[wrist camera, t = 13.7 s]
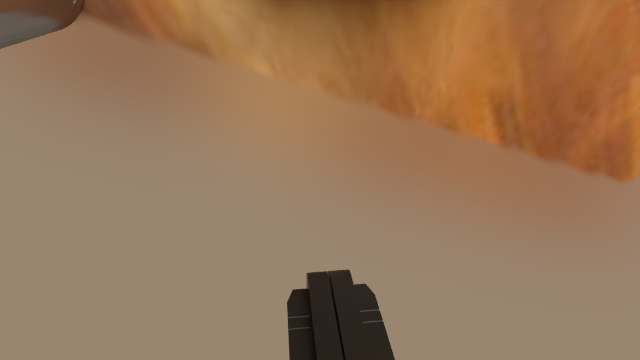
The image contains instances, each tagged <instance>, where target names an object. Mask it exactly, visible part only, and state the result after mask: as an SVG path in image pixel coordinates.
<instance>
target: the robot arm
mask: <svg viewBox="0 0 640 360" xmlns="http://www.w3.org/2000/svg"><path fill="white" fill-rule="evenodd" d="M82 4H83V0H0V49H1V48H4V47H7V46H10V45H13V44H17V43H20V42H23V41H26V40H29V39H32V38H35V37H39V36H42V35H45V34H48V33H52V32H55V31H58V30H61V29H63V28H65V27H67V26H69V25H70V24H72V23H73V22H74V21H75V20H76V18H77V17H78V15H79V13H80V12H81V8H82ZM287 308H288V309H287V310H288V332H289V356H290V360H395V359H394V356H393V352H392V349H391V346H390V342H389V339H388V336H387V333H386V329H385V326H384V323H383V321H382V316H381V313H380V311H379V307H378V303H377V300H376V297H375V294H374V293H373V292H372V291H371V290H370V289H369V287H368V286H367V285H366V284H356V285H353V281H352V277H351V273H350V271H349V270H337V271H328V272H327V271H325V272H311V273H307V289H296V290H293V291H292V293H291V295H290V297H289V299H288V302H287Z"/></svg>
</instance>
